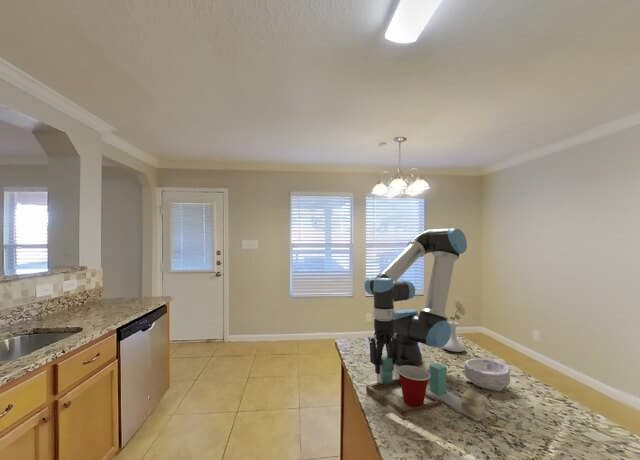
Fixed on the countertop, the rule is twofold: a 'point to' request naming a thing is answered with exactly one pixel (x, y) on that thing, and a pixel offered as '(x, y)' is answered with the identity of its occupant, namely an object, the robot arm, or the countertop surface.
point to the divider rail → (459, 412)
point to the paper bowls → (487, 373)
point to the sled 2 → (440, 390)
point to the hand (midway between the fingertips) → (384, 380)
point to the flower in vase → (453, 341)
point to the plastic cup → (413, 384)
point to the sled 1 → (388, 382)
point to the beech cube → (473, 403)
